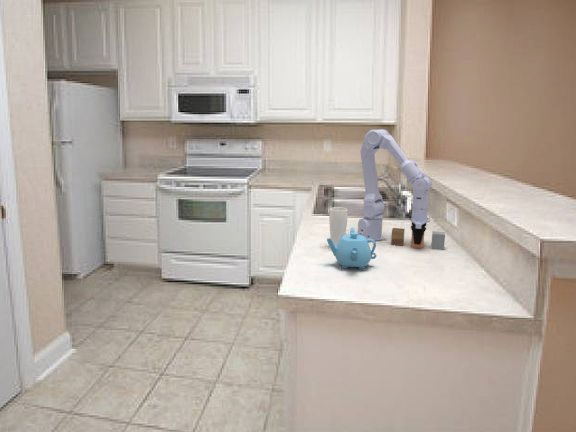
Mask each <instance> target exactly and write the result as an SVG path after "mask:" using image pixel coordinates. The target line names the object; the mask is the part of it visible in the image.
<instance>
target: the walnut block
mask: <svg viewBox="0 0 576 432" xmlns="http://www.w3.org/2000/svg"><path fill="white" fill-rule="evenodd" d="M390 238H391V240H390V242H391V243H390V246H394V245H395V246H396V247H403V246H404V243H405V242H404V241H405V228H401V227H400V228H399V227H398V228H397V227H392V229H391V237H390Z"/></svg>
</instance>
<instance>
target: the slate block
mask: <svg viewBox="0 0 576 432" xmlns="http://www.w3.org/2000/svg"><path fill="white" fill-rule="evenodd" d="M431 234H432V235H431V245H430V246H431V247H430V248H431V250H437V251H438V250H440V251H445V242H446V241H445V240H446V238H445V237H446V232H445V231H436V230H432V232H431Z"/></svg>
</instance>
